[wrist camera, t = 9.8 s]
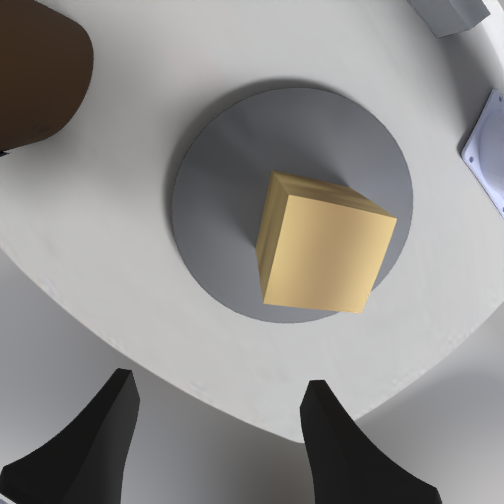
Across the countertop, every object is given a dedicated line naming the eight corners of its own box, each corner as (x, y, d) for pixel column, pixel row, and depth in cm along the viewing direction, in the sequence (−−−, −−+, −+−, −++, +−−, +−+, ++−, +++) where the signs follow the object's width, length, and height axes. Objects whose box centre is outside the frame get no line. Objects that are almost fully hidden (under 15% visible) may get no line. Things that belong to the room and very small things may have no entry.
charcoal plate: (440, 184, 18) (447, 188, 17) (319, 341, 23) (322, 349, 22) (259, 42, 14) (260, 38, 13) (137, 254, 19) (133, 261, 18)
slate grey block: (459, 21, 12) (490, 14, 9) (436, 38, 13) (469, 29, 10) (428, -18, 11) (456, -32, 7) (402, -4, 12) (431, -21, 8)
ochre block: (350, 187, 17) (397, 218, 12) (329, 259, 19) (361, 313, 14) (271, 170, 16) (288, 194, 11) (255, 248, 18) (263, 303, 13)
